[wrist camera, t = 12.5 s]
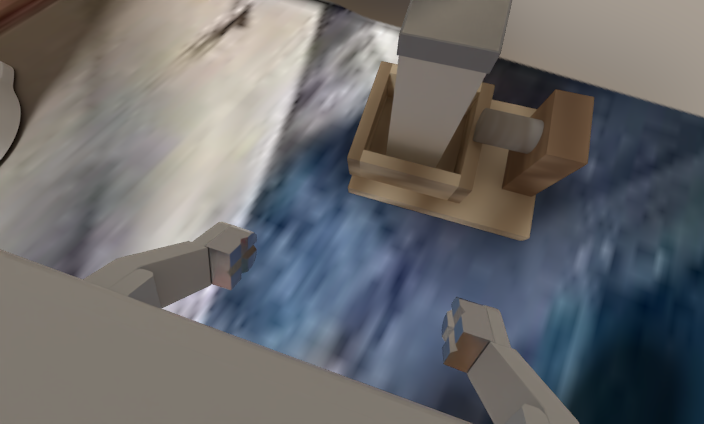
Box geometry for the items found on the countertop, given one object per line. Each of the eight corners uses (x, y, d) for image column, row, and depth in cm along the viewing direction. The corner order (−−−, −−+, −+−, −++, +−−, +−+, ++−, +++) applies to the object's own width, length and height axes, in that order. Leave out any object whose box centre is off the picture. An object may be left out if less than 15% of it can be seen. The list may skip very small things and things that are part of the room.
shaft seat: (346, 191, 25) (338, 152, 18) (382, 84, 28) (387, 16, 21) (521, 240, 23) (587, 218, 16) (540, 119, 26) (603, 56, 19)
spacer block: (384, 156, 24) (399, 33, 13) (398, 113, 25) (423, -35, 14) (436, 169, 24) (500, 53, 12) (447, 124, 25) (516, -20, 13)
